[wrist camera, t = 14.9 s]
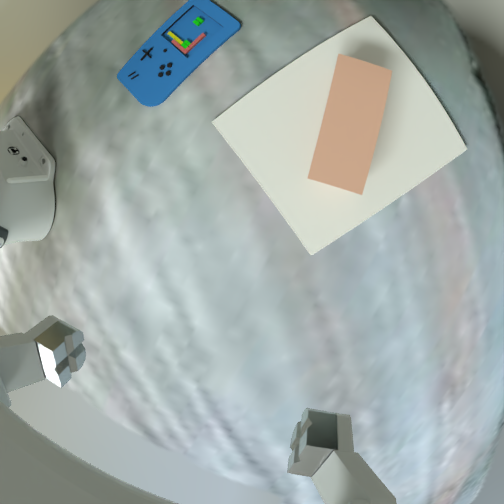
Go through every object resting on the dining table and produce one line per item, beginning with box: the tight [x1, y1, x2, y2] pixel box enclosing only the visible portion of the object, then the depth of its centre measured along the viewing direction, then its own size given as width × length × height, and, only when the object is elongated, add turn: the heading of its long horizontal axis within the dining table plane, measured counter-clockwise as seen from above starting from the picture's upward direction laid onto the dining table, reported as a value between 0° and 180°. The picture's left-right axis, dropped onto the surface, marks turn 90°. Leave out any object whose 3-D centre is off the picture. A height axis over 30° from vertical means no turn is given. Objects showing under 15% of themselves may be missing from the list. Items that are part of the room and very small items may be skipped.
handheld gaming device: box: [117, 0, 241, 106], centre depth 29 cm, size 8×1×15 cm
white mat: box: [212, 16, 467, 256], centre depth 28 cm, size 18×22×1 cm
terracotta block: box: [308, 54, 392, 195], centre depth 25 cm, size 5×5×12 cm
